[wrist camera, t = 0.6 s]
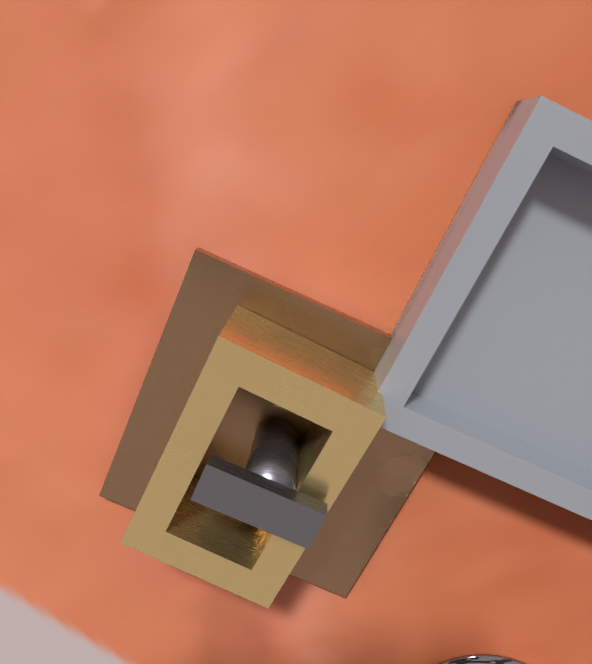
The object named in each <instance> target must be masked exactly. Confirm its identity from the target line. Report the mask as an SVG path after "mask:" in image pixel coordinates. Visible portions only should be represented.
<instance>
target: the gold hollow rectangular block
mask: <svg viewBox="0 0 592 664" xmlns="http://www.w3.org/2000/svg"><path fill="white" fill-rule="evenodd" d="M238 387H241V388H243V389H245V390H247V391H249V392H251V393H253V394H255V395H257V396H259V397H262V398H264V399H266V400H268V401H270V402H272V403H274V404H276V405H278V406H280V407H282V408H285V409H287V410H289V411H291V412H293V413H295V414H297V415H299V416H301V417H303V418H306V419H308V420H310V421H312V422H313V423H312V425H311V427H310V429H309V430H308V432H307V434H306V436H305V437H304V439H303V441H302V443H301V451H300V460H299V469H298V477H297V486H296V491H299V492H301V493H303V494H306V495H308V496H311V497H313V498H315V499H318V500H320V501H322V502H325V503H327V513H328V511H329V510H330V508H331V506H332V505H333V503H334V501H335V500H336V498H337V497H338V495H339V493H340V492H341V490H342V489H343V487H344V485H345V484H346V482H347V480H348V479H349V477H350V476H351V474H352V472H353V471H354V469H355V468H356V466H357V464H358V463H359V461H360V459H361V458H362V456H363V455H364V453H365V451H366V450H367V448H368V447H369V445H370V443H371V442H372V440H373V438H374V437H375V435H376V434H377V432H378V430H379V429H380V427H381V425H382V424H383V422H384V421H385V419H386V417H387V416H386V411H385V406H384V400H383V395H382V394H381V393H379V392H378V389H377V383H376V378H375V372H374V371H372V370H370V369H368V368H366V367H364V366H362V365H360V364H358V363H356V362H354V361H352V360H350V359H348V358H346V357H343V356H341V355H339V354H337V353H335V352H333V351H331V350H329V349H327V348H325V347H323V346H321V345H319V344H317V343H315V342H313V341H311V340H309V339H307V338H305V337H303V336H301V335H299V334H297V333H295V332H292V331H290V330H288V329H286V328H284V327H282V326H280V325H278V324H276V323H274V322H272V321H270V320H268V319H266V318H264V317H262V316H260V315H258V314H256V313H254V312H252V311H250V310H248V309H246V308H244V307H241V306H239V305H237V307H236V308H235V310H234V312H233V313H232V315H231V317H230V318H229V320H228V321H227V323H226V325H225V326H224V328H223V329H222V331H221V333H220V334H219V336H218V338H217V340H216V342H215V344H214V346H213V349H212V351H211V353H210V355H209V357H208V359H207V361H206V363H205V365H204V368H203V370H202V372H201V374H200V376H199V378H198V380H197V382H196V384H195V387H194V389H193V391H192V393H191V395H190V397H189V399H188V401H187V403H186V406H185V408H184V410H183V412H182V414H181V416H180V418H179V420H178V422H177V424H176V427H175V429H174V431H173V433H172V435H171V437H170V439H169V441H168V443H167V446H166V448H165V450H164V452H163V454H162V456H161V458H160V460H159V462H158V465H157V467H156V469H155V471H154V473H153V475H152V477H151V479H150V481H149V484H148V486H147V488H146V490H145V492H144V494H143V496H142V498H141V500H140V503H139V505H138V507H137V509H136V511H135V513H134V515H133V517H132V519H131V521H130V524H129V526H128V528H127V530H126V532H125V534H124V536H123V538H122V540H121V544H124V545H126V546H128V547H130V548H133V549H135V550H137V551H139V552H142V553H144V554H146V555H148V556H151V557H153V558H155V559H158V560H160V561H162V562H164V563H167V564H169V565H171V566H173V567H176V568H178V569H180V570H182V571H185V572H187V573H189V574H191V575H194V576H196V577H198V578H200V579H203V580H205V581H207V582H209V583H212V584H214V585H216V586H218V587H221V588H223V589H225V590H227V591H230V592H232V593H234V594H236V595H239V596H241V597H243V598H245V599H248V600H250V601H252V602H254V603H257V604H259V605H261V606H263V607H266V608H269V606H270V605H271V603H272V602H273V600H274V598H275V597H276V595H277V594H278V592H279V590H280V589H281V587H282V585H283V584H284V582H285V581H286V579H287V577H288V576H289V574H290V573H291V571H292V569H293V568H294V566H295V564H296V563H297V561H298V560H299V558H300V556H301V555H302V553H303V552H304V550H305V548H304V547H302V546H299V545H297V544H295V543H292V542H290V541H287V540H285V539H283V538H280V537H278V536H275V535H273V534H271V533H268V532H266V531H263V530H261V529H259V528H256V527H254V526H251V525H249V524H247V523H244V522H242V521H240V520H237V519H235V518H232V517H230V516H228V515H225V514H223V513H220V512H218V511H216V510H213V509H211V508H208V507H206V506H204V505H201V504H199V503H196V502H194V501H192V500H191V497H192V495H193V492H194V490H195V488H196V485H197V483H198V481H199V479H197V478H195V477H193V476H194V474H195V472H196V470H197V468H198V466H199V464H200V462H201V460H202V458H203V456H204V454H205V452H206V450H207V448H208V446H209V445H210V443H211V441H212V439H213V437H214V435H215V433H216V431H217V429H218V427H219V425H220V423H221V421H222V419H223V417H224V415H225V413H226V411H227V409H228V407H229V405H230V403H231V401H232V399H233V397H234V395H235V393H236V391H237V389H238Z"/></svg>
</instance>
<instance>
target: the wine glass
mask: <svg viewBox="0 0 592 664" xmlns="http://www.w3.org/2000/svg"><path fill="white" fill-rule="evenodd" d="M440 664H525V663H523V662H520V661H517V660H515V659H512V658H507V657H502V656H497V655H469V656H463V657H459V658H454V659H451V660H448V661H445V662H443V663H440Z"/></svg>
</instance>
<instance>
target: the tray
mask: <svg viewBox="0 0 592 664" xmlns="http://www.w3.org/2000/svg"><path fill="white" fill-rule="evenodd" d="M391 337H392V340H391V341H390V343H389V345H388V347H387V349H386V351H385V352H384V354H383V356H382V358H381V360H380V362H379V364H378V365H377V367H376V369H375V371H374V372H375V378H376V383H377V389H378V392H379V393H381V394H382V395H383V400H384V406H385V411H386V416H387V417H386V419H385V421H384V422H383V424H382V425H381V428H383V429H385V430H387V431H390V432H392V433H394V434H397V435H399V436H401V437H403V438H406V439H408V440H410V441H412V442H415V443H417V444H419V445H422V446H424V447H426V448H428V449H431V450H433V451H435V452H437V453H440V454H442V455H444V456H447V457H449V458H451V459H453V460H456V461H458V462H460V463H462V464H465V465H467V466H469V467H472V468H474V469H476V470H478V471H481V472H483V473H485V474H487V475H490V476H492V477H494V478H497V479H499V480H501V481H503V482H506V483H508V484H510V485H512V486H515V487H517V488H519V489H522V490H524V491H526V492H528V493H531V494H533V495H535V496H537V497H540V498H542V499H544V500H547V501H549V502H551V503H553V504H556V505H558V506H560V507H563V508H565V509H567V510H569V511H572V512H574V513H576V514H578V515H581V516H583V517H585V518H588V519H590V520H592V121H591V120H589V119H587V118H585V117H583V116H581V115H579V114H577V113H575V112H573V111H571V110H569V109H567V108H565V107H563V106H561V105H559V104H557V103H555V102H553V101H551V100H549V99H547V98H545V97H543V96H538V97H534V98H530V99H525V100H521V101H517V102H516V104H515V106H514V108H513V110H512V111H511V113H510V115H509V117H508V119H507V121H506V123H505V124H504V126H503V128H502V130H501V132H500V134H499V136H498V137H497V139H496V141H495V143H494V145H493V147H492V149H491V150H490V152H489V154H488V156H487V158H486V160H485V161H484V163H483V165H482V167H481V169H480V171H479V173H478V174H477V176H476V178H475V180H474V182H473V184H472V186H471V187H470V189H469V191H468V193H467V195H466V197H465V199H464V200H463V202H462V204H461V206H460V208H459V210H458V212H457V213H456V215H455V217H454V219H453V221H452V223H451V225H450V226H449V228H448V230H447V232H446V234H445V236H444V237H443V239H442V241H441V243H440V245H439V247H438V249H437V250H436V252H435V254H434V256H433V258H432V260H431V262H430V263H429V265H428V267H427V269H426V271H425V273H424V275H423V276H422V278H421V280H420V282H419V284H418V286H417V288H416V289H415V291H414V293H413V295H412V297H411V299H410V301H409V302H408V304H407V306H406V308H405V310H404V312H403V314H402V315H401V317H400V319H399V321H398V323H397V325H396V326H395V328H394V330H393V332H392V334H391Z"/></svg>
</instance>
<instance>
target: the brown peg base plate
mask: <svg viewBox="0 0 592 664" xmlns="http://www.w3.org/2000/svg"><path fill="white" fill-rule="evenodd" d="M237 305H239V306H241V307H244V308H246V309H248V310H250V311H252V312H254V313H256V314H258V315H260V316H262V317H264V318H266V319H268V320H270V321H272V322H274V323H276V324H278V325H280V326H282V327H284V328H286V329H288V330H290V331H292V332H295V333H297V334H299V335H301V336H303V337H305V338H307V339H309V340H311V341H313V342H315V343H317V344H319V345H321V346H323V347H325V348H327V349H329V350H331V351H333V352H335V353H337V354H339V355H341V356H343V357H346V358H348V359H350V360H352V361H354V362H356V363H358V364H360V365H362V366H364V367H366V368H368V369H370V370H372V371H375V369H376V367H377V365H378V364H379V362H380V360H381V358H382V356H383V354H384V352H385V351H386V349H387V347H388V345H389V343H390V341H391V340H392V337H391V335H390V334H388V333H385V332H383V331H381V330H379V329H377V328H374V327H372V326H370V325H368V324H366V323H363V322H361V321H359V320H357V319H355V318H352V317H350V316H348V315H346V314H343V313H341V312H339V311H337V310H335V309H332V308H330V307H328V306H326V305H324V304H321V303H319V302H317V301H315V300H313V299H310V298H308V297H306V296H304V295H302V294H299V293H297V292H295V291H293V290H291V289H288V288H286V287H284V286H282V285H280V284H277V283H275V282H273V281H271V280H269V279H266V278H264V277H262V276H260V275H258V274H255V273H253V272H251V271H249V270H246V269H244V268H242V267H240V266H238V265H235V264H233V263H231V262H229V261H227V260H224V259H222V258H220V257H218V256H216V255H213V254H211V253H209V252H207V251H205V250H202V249H200V248H197V249H195V252H194V254H193V257H192V259H191V262H190V265H189V267H188V270H187V272H186V275H185V277H184V280H183V282H182V285H181V288H180V290H179V293H178V295H177V298H176V300H175V303H174V306H173V308H172V311H171V313H170V316H169V318H168V321H167V323H166V326H165V329H164V331H163V334H162V336H161V339H160V341H159V344H158V346H157V349H156V352H155V354H154V357H153V359H152V362H151V364H150V367H149V370H148V372H147V375H146V377H145V380H144V382H143V385H142V387H141V390H140V393H139V395H138V398H137V400H136V403H135V405H134V408H133V410H132V413H131V416H130V418H129V421H128V423H127V426H126V428H125V431H124V434H123V436H122V439H121V441H120V444H119V446H118V449H117V451H116V454H115V457H114V459H113V462H112V464H111V467H110V469H109V472H108V474H107V477H106V480H105V482H104V485H103V487H102V490H101V492H100V495H99V496H101V497H104V498H106V499H109V500H111V501H113V502H116V503H118V504H121V505H123V506H125V507H128V508H130V509H133V510H135V511H136V509H137V507H138V505H139V503H140V500H141V498H142V496H143V494H144V492H145V490H146V488H147V486H148V484H149V481H150V479H151V477H152V475H153V473H154V471H155V469H156V467H157V465H158V462H159V460H160V458H161V456H162V454H163V452H164V450H165V448H166V446H167V443H168V441H169V439H170V437H171V435H172V433H173V431H174V429H175V427H176V424H177V422H178V420H179V418H180V416H181V414H182V412H183V410H184V408H185V406H186V403H187V401H188V399H189V397H190V395H191V393H192V391H193V389H194V387H195V384H196V382H197V380H198V378H199V376H200V374H201V372H202V370H203V368H204V365H205V363H206V361H207V359H208V357H209V355H210V353H211V351H212V349H213V346H214V344H215V342H216V340H217V338H218V336H219V334H220V333H221V331H222V329H223V328H224V326H225V325H226V323H227V321H228V320H229V318H230V317H231V315H232V313H233V312H234V310H235V308H236V307H237ZM312 423H313V422H312V421H310V420H308V419H306V418H303V417H301V416H299V415H297V414H295V413H293V412H291V411H289V410H287V409H285V408H282V407H280V406H278V405H276V404H274V403H272V402H270V401H268V400H266V399H264V398H262V397H259V396H257V395H255V394H253V393H251V392H249V391H247V390H245V389H243V388H241V387H238V389H237V391H236V393H235V395H234V397H233V399H232V401H231V403H230V405H229V407H228V409H227V411H226V413H225V415H224V417H223V419H222V421H221V423H220V425H219V427H218V429H217V431H216V433H215V435H214V437H213V439H212V441H211V443H210V445H209V446H208V448H207V450H206V452H205V454H204V456H203V458H202V460H201V462H200V464H199V466H198V468H197V470H196V472H195V474H194V476H193V477H195V478H197V479H199V481H198V483H197V485H196V488H195V490H194V492H193V495H192V497H191V500H192V501H194V502H196V503H199V504H201V505H204V506H206V507H208V508H211V509H213V510H216V511H218V512H220V513H223V514H225V515H228V516H230V517H232V518H235V519H237V520H240V521H242V522H244V523H247V524H249V525H251V526H254V527H256V528H259V529H261V530H263V531H266V532H268V533H271V534H273V535H275V536H278V537H280V538H283V539H285V540H287V541H290V542H292V543H295V544H297V545H299V546H302V547H304V548H305V550H304V552H303V553H302V555H301V556H300V558H299V560H298V561H297V563H296V564H295V566H294V568H293V569H292V571H291V573H290V575H292V576H295V577H297V578H300V579H302V580H304V581H307V582H309V583H312V584H314V585H317V586H319V587H321V588H324V589H326V590H329V591H331V592H333V593H336V594H338V595H341V596H343V597H346V596H347V594H348V593H349V591H350V589H351V588H352V586H353V584H354V583H355V581H356V580H357V578H358V576H359V575H360V573H361V571H362V570H363V568H364V567H365V565H366V563H367V562H368V560H369V558H370V557H371V555H372V554H373V552H374V550H375V549H376V547H377V545H378V544H379V542H380V541H381V539H382V537H383V536H384V534H385V532H386V531H387V529H388V528H389V526H390V524H391V523H392V521H393V519H394V518H395V516H396V515H397V513H398V511H399V510H400V508H401V506H402V505H403V503H404V502H405V500H406V498H407V497H408V495H409V493H410V492H411V490H412V489H413V487H414V485H415V484H416V482H417V480H418V479H419V477H420V475H421V474H422V472H423V471H424V469H425V467H426V466H427V464H428V462H429V461H430V459H431V458H432V456H433V454H434V453H435V451H433V450H431V449H428V448H426V447H424V446H422V445H419V444H417V443H415V442H412V441H410V440H408V439H406V438H403V437H401V436H399V435H397V434H394V433H392V432H390V431H387V430H385V429H383V428H381V427H380V429H379V430H378V432H377V434H376V435H375V437H374V438H373V440H372V442H371V443H370V445H369V447H368V448H367V450H366V451H365V453H364V455H363V456H362V458H361V459H360V461H359V463H358V464H357V466H356V468H355V469H354V471H353V472H352V474H351V476H350V477H349V479H348V480H347V482H346V484H345V485H344V487H343V489H342V490H341V492H340V493H339V495H338V497H337V498H336V500H335V501H334V503H333V505H332V506H331V508H330V510H329V511H328V513H327V503H325V502H322V501H320V500H318V499H315V498H313V497H311V496H308V495H306V494H303V493H301V492H299V491H296V486H297V477H298V469H299V460H300V451H301V443H302V441H303V439H304V437H305V436H306V434H307V432H308V430H309V429H310V427H311V425H312Z"/></svg>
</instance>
